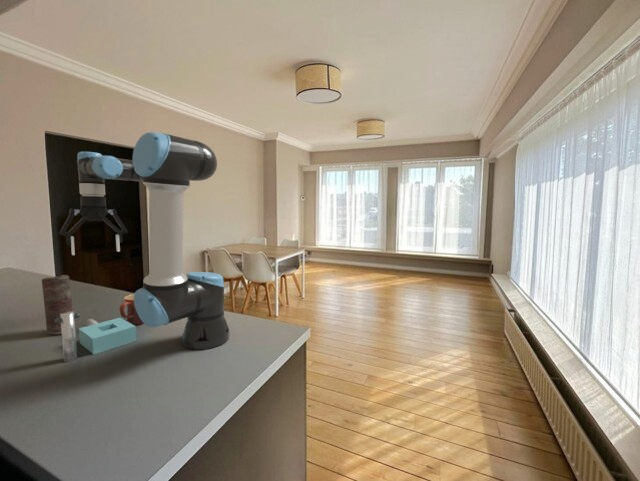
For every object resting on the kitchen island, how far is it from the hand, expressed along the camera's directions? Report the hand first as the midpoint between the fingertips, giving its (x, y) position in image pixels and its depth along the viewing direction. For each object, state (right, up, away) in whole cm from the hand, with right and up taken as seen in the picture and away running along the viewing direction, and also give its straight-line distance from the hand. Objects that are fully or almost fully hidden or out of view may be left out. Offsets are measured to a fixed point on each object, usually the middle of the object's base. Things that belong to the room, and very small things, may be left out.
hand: (96, 252), depth 112 cm
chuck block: (+10, -28, -11) cm, 32 cm away
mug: (+14, -27, +1) cm, 30 cm away
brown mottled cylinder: (-7, -28, -7) cm, 29 cm away
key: (+11, -30, -25) cm, 41 cm away
